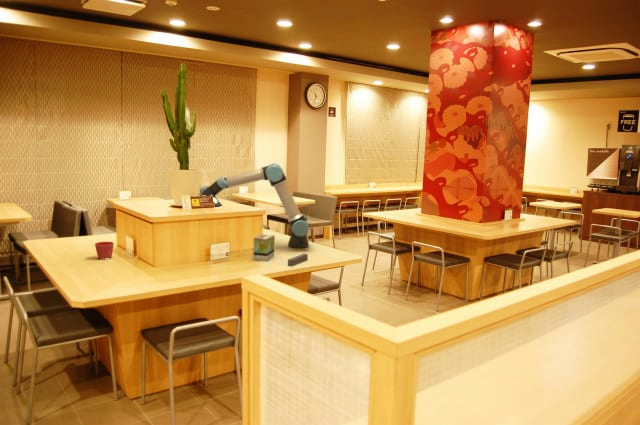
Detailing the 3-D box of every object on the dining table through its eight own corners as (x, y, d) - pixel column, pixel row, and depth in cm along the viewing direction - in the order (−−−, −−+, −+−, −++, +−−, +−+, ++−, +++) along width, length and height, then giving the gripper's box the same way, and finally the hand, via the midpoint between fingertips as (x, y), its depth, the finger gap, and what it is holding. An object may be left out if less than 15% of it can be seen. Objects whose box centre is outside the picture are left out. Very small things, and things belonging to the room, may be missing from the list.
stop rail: (303, 259, 329) (303, 253, 329) (307, 260, 328) (307, 254, 328) (287, 265, 312) (287, 259, 311) (292, 266, 310) (292, 260, 310)
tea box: (267, 261, 322) (268, 238, 320) (252, 260, 324) (253, 237, 322) (274, 256, 337) (274, 234, 335) (260, 255, 339) (260, 233, 336)
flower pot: (114, 259, 318) (113, 244, 316) (95, 260, 314) (94, 245, 312) (114, 255, 327) (113, 241, 326) (95, 256, 323) (95, 242, 322)
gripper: (220, 207, 353) (239, 233, 348) (203, 210, 337) (223, 237, 332) (226, 200, 350) (246, 226, 345) (209, 203, 334) (229, 230, 329)
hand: (235, 231), depth 339 cm, fingers open, 5 cm apart
